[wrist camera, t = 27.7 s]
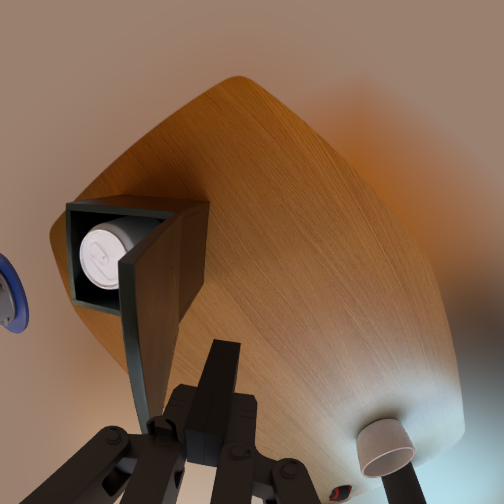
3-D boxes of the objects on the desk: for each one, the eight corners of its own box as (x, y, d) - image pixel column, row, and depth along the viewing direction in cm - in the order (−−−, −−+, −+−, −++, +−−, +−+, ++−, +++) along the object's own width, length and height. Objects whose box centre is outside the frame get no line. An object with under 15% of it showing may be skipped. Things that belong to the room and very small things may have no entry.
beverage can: (149, 274, 41) (112, 306, 30) (113, 241, 40) (68, 261, 29) (178, 236, 39) (144, 258, 28) (139, 201, 38) (94, 210, 27)
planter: (409, 422, 48) (423, 453, 38) (369, 449, 51) (378, 481, 40) (386, 406, 47) (401, 441, 36) (342, 436, 50) (350, 472, 39)
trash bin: (120, 271, 42) (72, 303, 29) (121, 194, 39) (65, 203, 26) (203, 284, 42) (176, 328, 29) (209, 201, 39) (179, 212, 25)
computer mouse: (327, 499, 59) (328, 507, 55) (334, 487, 57) (335, 496, 53) (345, 496, 59) (346, 505, 55) (353, 484, 56) (355, 493, 52)
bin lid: (145, 446, 13) (156, 448, 13) (116, 260, 10) (134, 262, 10) (171, 330, 28) (178, 331, 28) (174, 212, 25) (182, 212, 25)
